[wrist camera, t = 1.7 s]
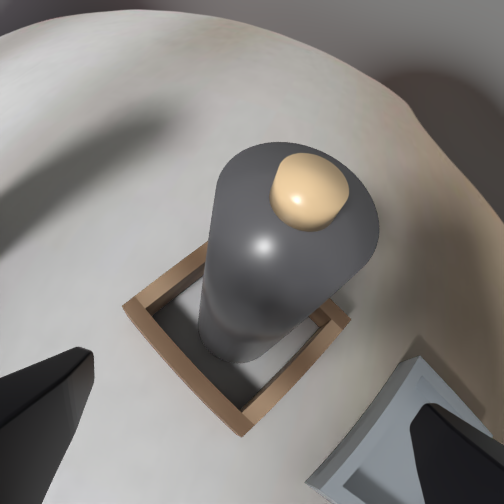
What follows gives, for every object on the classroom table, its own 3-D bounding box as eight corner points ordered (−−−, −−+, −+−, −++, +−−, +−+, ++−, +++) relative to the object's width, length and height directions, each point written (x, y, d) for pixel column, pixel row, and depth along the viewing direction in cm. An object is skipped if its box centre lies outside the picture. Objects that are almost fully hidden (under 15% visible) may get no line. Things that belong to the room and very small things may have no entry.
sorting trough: (399, 546, 14) (419, 554, 11) (304, 482, 16) (319, 490, 14) (472, 437, 19) (493, 435, 16) (399, 362, 21) (419, 355, 19)
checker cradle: (236, 434, 17) (241, 437, 15) (127, 316, 19) (121, 306, 17) (338, 327, 22) (351, 319, 20) (238, 230, 24) (243, 215, 22)
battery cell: (236, 379, 19) (331, 310, 7) (181, 321, 20) (178, 163, 8) (290, 327, 21) (419, 199, 9) (237, 275, 22) (300, 102, 10)
